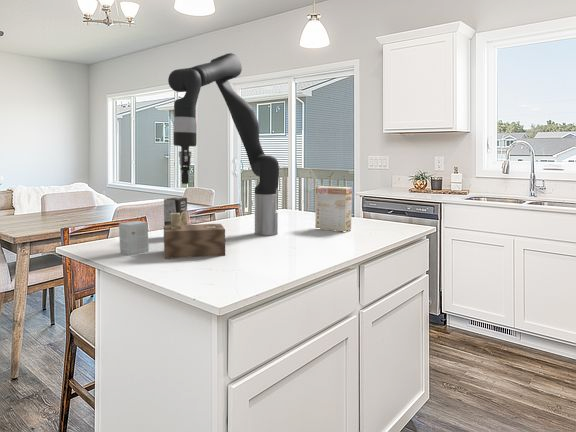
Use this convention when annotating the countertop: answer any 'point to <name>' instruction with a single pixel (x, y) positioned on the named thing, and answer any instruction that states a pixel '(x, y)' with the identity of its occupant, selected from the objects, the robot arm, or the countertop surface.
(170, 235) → the walnut block
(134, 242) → the small box
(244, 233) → the countertop surface
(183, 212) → the coffee box
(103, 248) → the countertop surface
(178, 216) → the pin
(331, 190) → the coffeecake box
